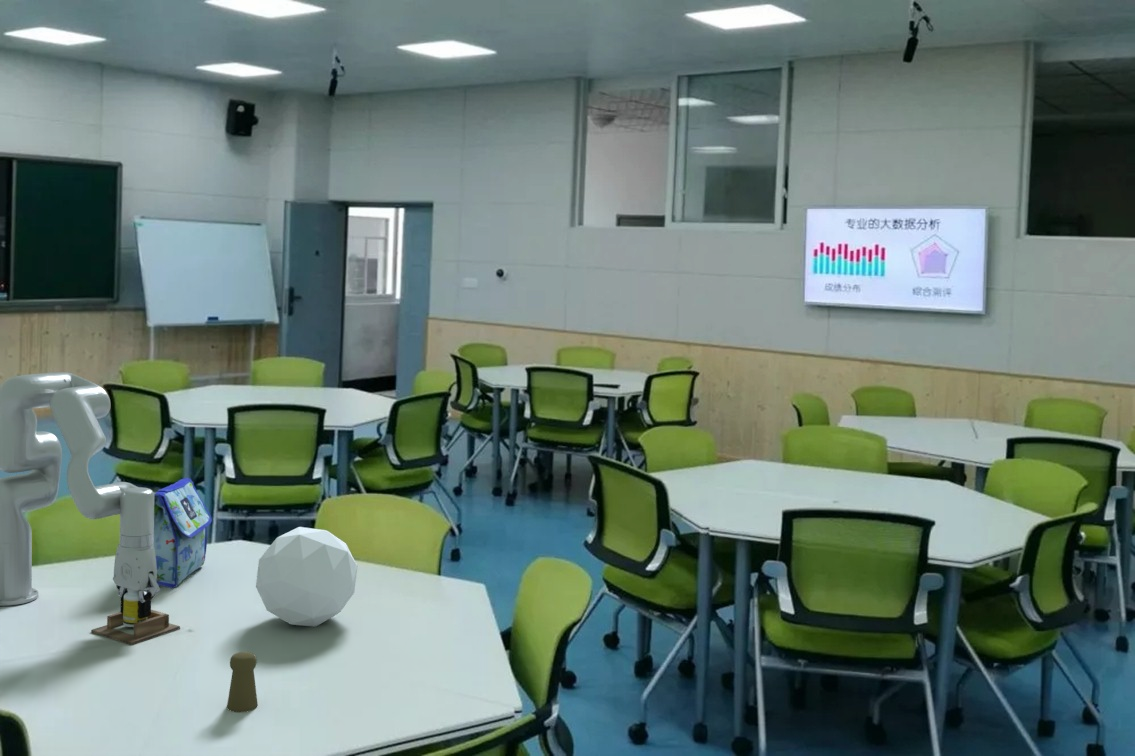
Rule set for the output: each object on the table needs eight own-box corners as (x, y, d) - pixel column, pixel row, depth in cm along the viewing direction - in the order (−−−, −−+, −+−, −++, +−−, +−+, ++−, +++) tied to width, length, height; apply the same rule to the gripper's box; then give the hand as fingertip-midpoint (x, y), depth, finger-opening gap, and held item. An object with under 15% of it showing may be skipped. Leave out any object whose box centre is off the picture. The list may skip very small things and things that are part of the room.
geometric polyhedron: (305, 645, 282) (335, 555, 294) (357, 637, 264) (387, 542, 277) (224, 611, 269) (259, 519, 282) (273, 600, 252) (309, 502, 264)
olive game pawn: (230, 699, 225) (231, 648, 224) (260, 700, 225) (261, 648, 224) (223, 712, 219) (224, 658, 218) (254, 712, 219) (255, 659, 218)
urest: (91, 632, 259) (91, 617, 259) (140, 617, 271) (140, 602, 271) (131, 644, 252) (131, 629, 252) (179, 628, 265) (180, 614, 264)
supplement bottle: (138, 628, 258) (139, 588, 257) (118, 626, 260) (118, 585, 259) (152, 621, 264) (152, 582, 263) (131, 619, 265) (132, 579, 264)
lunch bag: (186, 589, 295) (188, 494, 292) (124, 586, 295) (125, 491, 292) (214, 566, 317) (216, 478, 314) (157, 563, 317) (158, 474, 314)
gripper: (98, 537, 260) (98, 611, 262) (148, 549, 252) (147, 626, 254) (125, 531, 267) (124, 603, 269) (174, 543, 259) (173, 617, 261)
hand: (135, 613), depth 261 cm, fingers closed on supplement bottle, 5 cm apart
